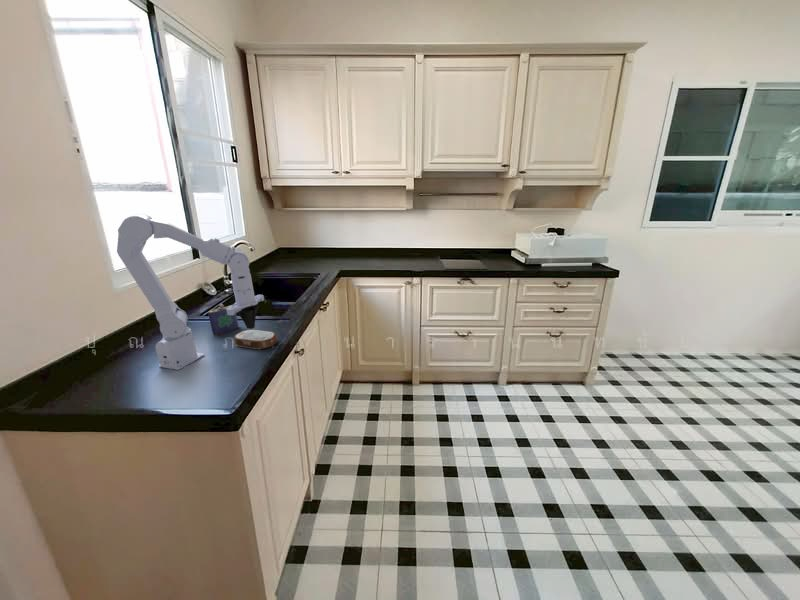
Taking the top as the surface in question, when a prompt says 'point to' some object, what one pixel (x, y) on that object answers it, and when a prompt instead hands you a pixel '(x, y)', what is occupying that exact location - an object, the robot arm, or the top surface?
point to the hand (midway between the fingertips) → (250, 327)
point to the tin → (255, 339)
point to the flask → (222, 321)
